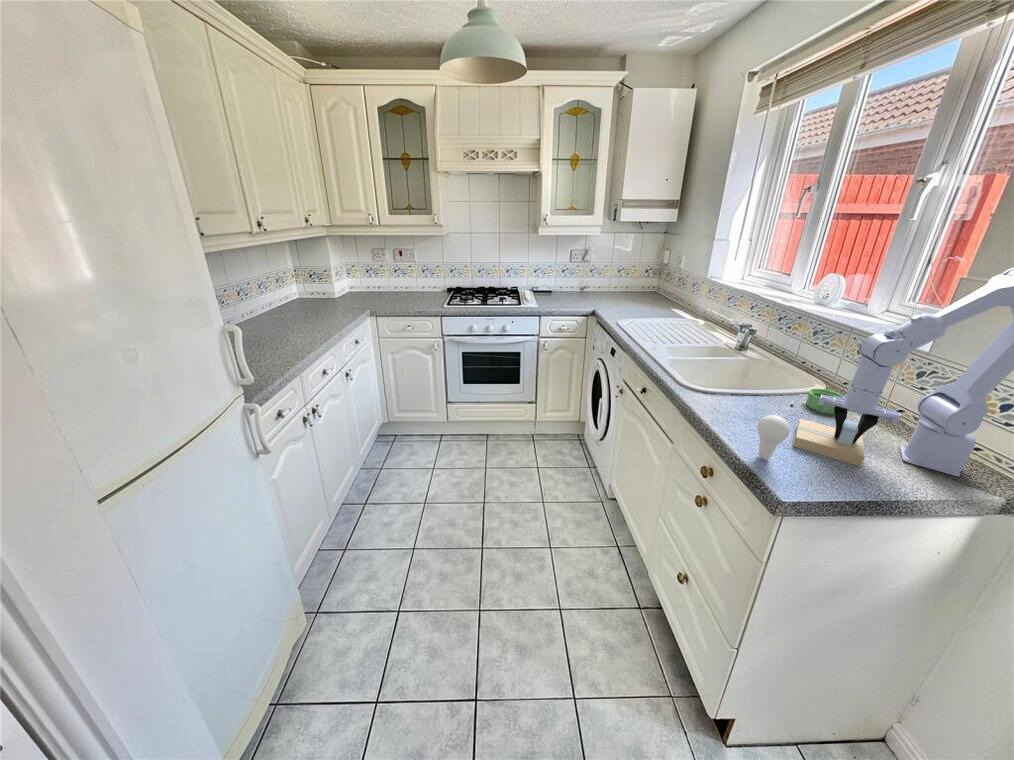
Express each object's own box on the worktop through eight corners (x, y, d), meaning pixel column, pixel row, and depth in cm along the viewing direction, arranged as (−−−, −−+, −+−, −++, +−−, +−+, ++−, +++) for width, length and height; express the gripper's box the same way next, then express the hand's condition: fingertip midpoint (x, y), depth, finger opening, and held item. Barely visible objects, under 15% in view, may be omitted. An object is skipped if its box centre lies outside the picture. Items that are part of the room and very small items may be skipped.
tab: (851, 437, 99) (857, 422, 97) (851, 446, 95) (858, 431, 94) (836, 433, 101) (842, 418, 99) (836, 442, 97) (843, 427, 95)
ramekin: (797, 404, 122) (801, 390, 120) (815, 399, 125) (820, 386, 124) (829, 417, 114) (834, 403, 113) (847, 412, 118) (853, 398, 116)
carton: (858, 444, 101) (862, 435, 100) (860, 466, 93) (864, 456, 92) (796, 427, 108) (799, 418, 107) (792, 446, 100) (796, 436, 99)
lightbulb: (768, 451, 97) (781, 410, 93) (784, 466, 92) (800, 424, 87) (742, 450, 97) (755, 410, 93) (757, 466, 91) (772, 423, 87)
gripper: (906, 390, 91) (882, 442, 97) (827, 374, 99) (809, 422, 105) (910, 401, 86) (884, 455, 92) (826, 383, 94) (807, 433, 100)
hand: (844, 438), depth 98 cm, fingers closed on tab, 3 cm apart
